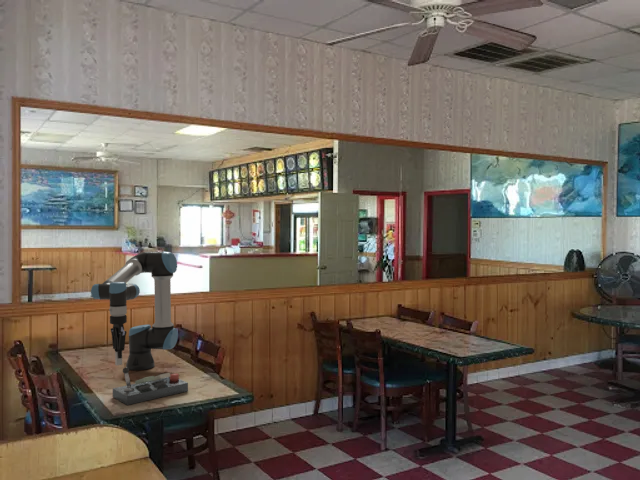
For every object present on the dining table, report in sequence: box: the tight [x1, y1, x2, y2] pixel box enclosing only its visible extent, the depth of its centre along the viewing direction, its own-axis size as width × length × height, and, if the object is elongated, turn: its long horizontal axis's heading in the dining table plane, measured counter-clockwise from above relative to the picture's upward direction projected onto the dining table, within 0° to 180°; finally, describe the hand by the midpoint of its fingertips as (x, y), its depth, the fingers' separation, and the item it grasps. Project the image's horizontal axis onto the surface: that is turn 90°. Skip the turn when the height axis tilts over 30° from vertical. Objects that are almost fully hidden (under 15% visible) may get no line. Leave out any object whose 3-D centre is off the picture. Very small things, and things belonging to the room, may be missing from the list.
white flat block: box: [134, 375, 155, 385], centre depth 261 cm, size 10×5×2 cm, turn 42°
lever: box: [122, 367, 131, 388], centre depth 257 cm, size 3×3×10 cm
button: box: [169, 372, 180, 382], centre depth 271 cm, size 4×4×3 cm
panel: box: [112, 377, 189, 406], centre depth 263 cm, size 16×30×5 cm, turn 132°
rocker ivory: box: [153, 372, 171, 381], centre depth 266 cm, size 10×5×2 cm, turn 42°
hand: (118, 364), depth 264 cm, fingers closed
